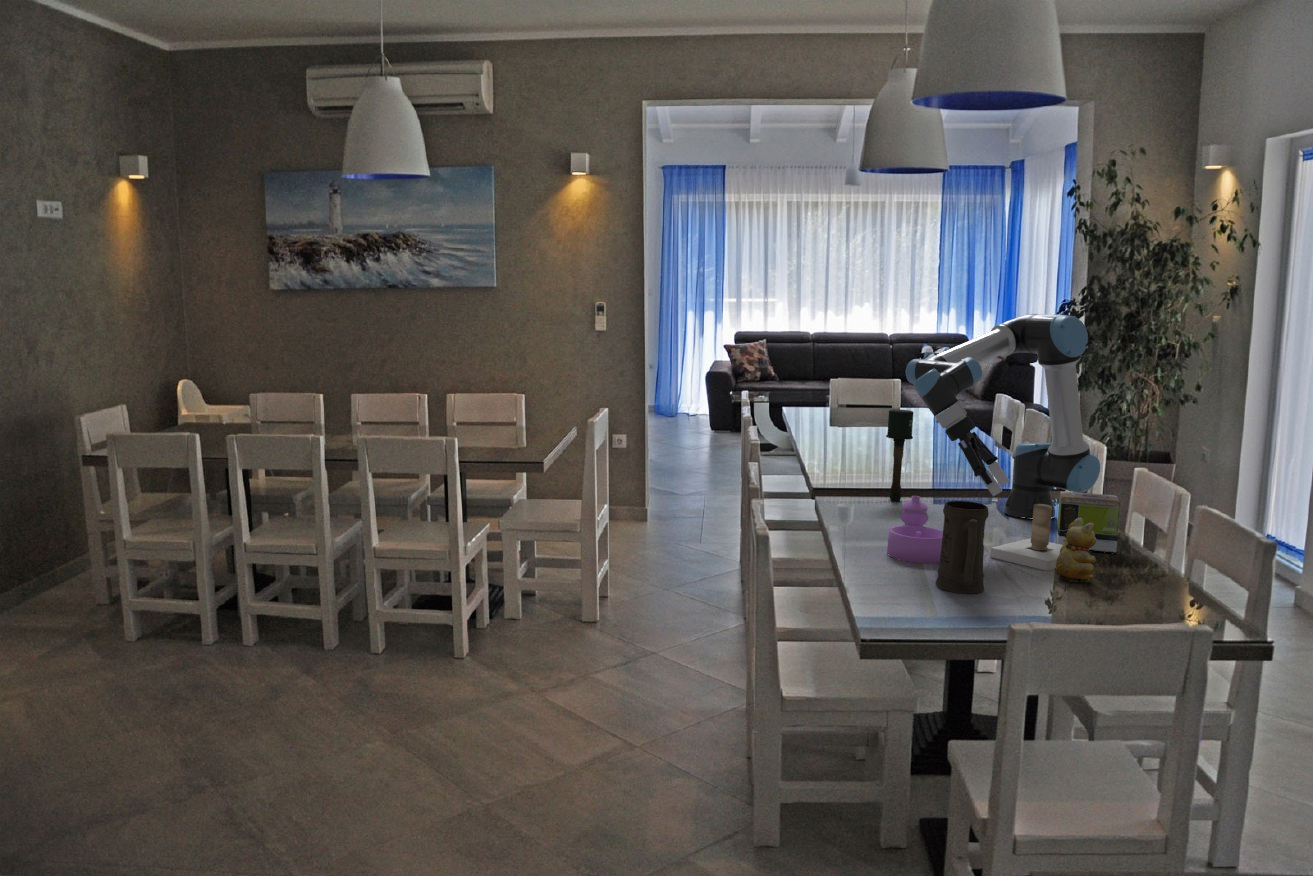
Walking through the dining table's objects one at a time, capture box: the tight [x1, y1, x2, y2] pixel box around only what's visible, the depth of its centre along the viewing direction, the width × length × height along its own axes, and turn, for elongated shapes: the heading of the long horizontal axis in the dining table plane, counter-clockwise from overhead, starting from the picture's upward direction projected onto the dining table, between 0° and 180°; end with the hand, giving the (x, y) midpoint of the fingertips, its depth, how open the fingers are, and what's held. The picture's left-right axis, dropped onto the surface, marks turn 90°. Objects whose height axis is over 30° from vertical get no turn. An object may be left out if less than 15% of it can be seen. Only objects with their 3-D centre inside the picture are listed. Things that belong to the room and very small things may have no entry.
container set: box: [886, 495, 943, 564], centre depth 270 cm, size 25×15×13 cm, turn 171°
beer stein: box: [935, 500, 989, 595], centre depth 234 cm, size 15×11×20 cm
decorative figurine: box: [1055, 518, 1097, 583], centre depth 246 cm, size 10×8×15 cm
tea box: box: [1056, 490, 1121, 552], centre depth 281 cm, size 15×10×15 cm
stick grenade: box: [885, 408, 914, 502], centre depth 338 cm, size 8×9×30 cm
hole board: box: [989, 537, 1063, 571], centre depth 268 cm, size 20×16×2 cm
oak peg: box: [1030, 504, 1052, 553], centre depth 267 cm, size 4×4×14 cm
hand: (1002, 488), depth 273 cm, fingers open, 13 cm apart
